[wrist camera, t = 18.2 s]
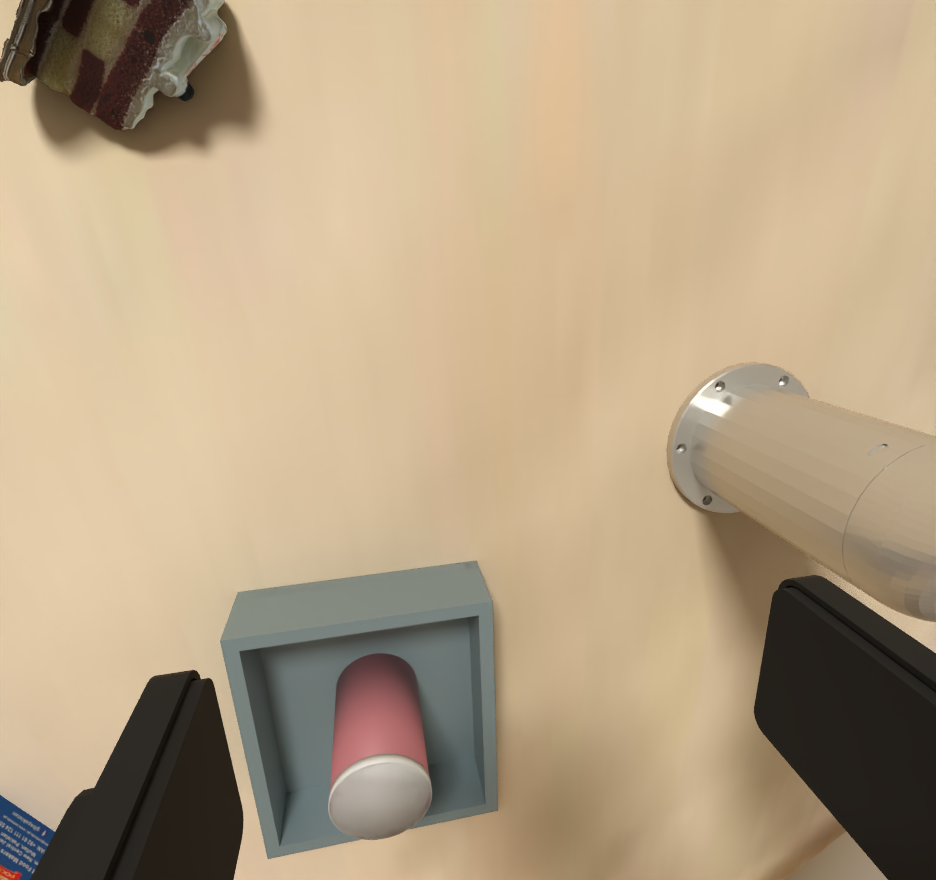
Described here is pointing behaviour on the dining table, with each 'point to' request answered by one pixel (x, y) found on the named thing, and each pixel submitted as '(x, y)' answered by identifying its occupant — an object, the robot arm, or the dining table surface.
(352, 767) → the soup can
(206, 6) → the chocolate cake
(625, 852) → the dining table surface
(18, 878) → the pasta box
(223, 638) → the tote
